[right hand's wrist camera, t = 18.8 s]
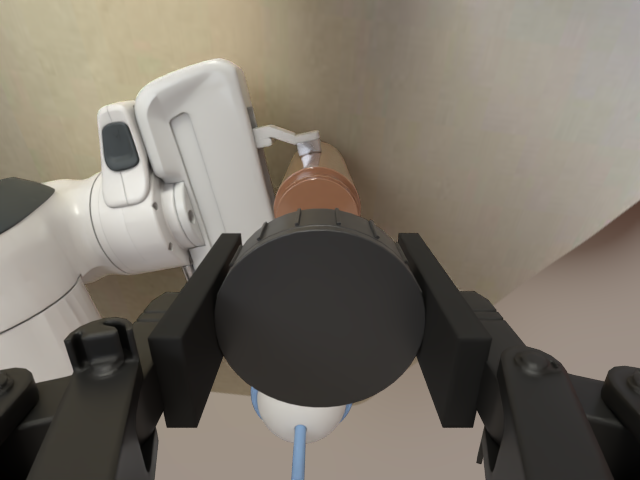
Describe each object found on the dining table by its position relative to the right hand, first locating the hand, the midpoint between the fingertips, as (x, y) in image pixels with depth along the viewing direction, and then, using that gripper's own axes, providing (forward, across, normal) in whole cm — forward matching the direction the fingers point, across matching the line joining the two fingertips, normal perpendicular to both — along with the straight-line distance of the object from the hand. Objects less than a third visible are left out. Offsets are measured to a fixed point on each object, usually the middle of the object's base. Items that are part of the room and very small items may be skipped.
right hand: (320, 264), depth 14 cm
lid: (-4, 0, 0) cm, 4 cm away
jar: (+22, 0, 0) cm, 22 cm away
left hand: (+15, -1, 0) cm, 15 cm away
